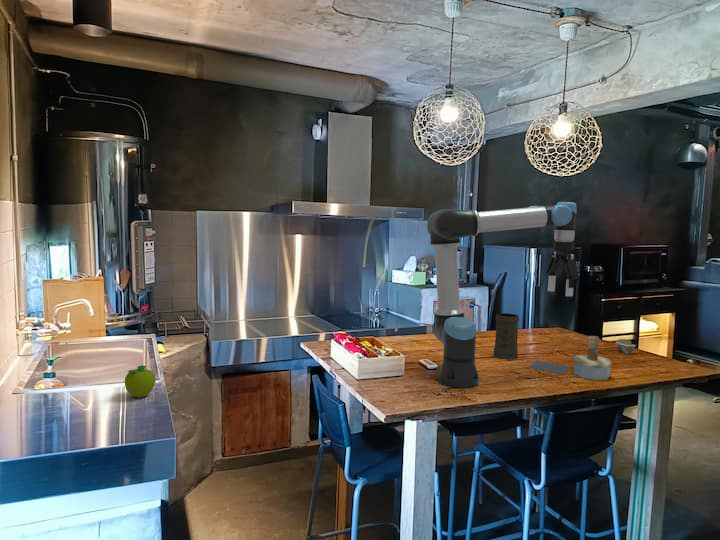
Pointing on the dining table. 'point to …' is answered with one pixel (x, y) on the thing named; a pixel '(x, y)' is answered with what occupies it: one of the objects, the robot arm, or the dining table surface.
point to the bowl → (591, 372)
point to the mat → (549, 367)
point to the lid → (592, 356)
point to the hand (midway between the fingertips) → (559, 293)
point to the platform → (625, 346)
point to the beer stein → (506, 336)
